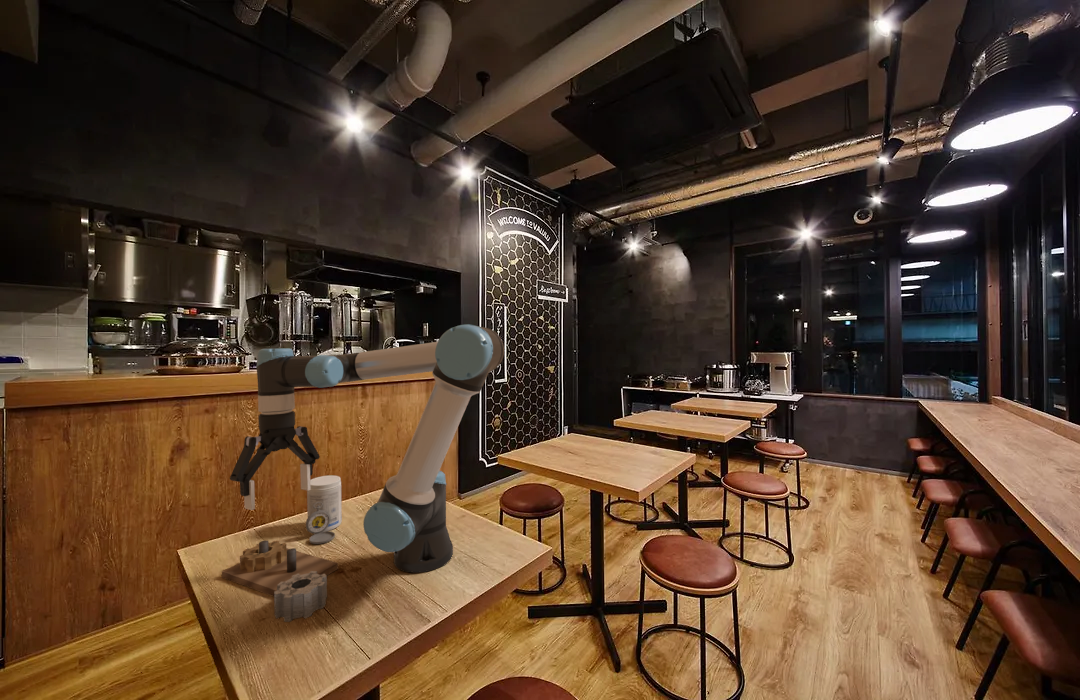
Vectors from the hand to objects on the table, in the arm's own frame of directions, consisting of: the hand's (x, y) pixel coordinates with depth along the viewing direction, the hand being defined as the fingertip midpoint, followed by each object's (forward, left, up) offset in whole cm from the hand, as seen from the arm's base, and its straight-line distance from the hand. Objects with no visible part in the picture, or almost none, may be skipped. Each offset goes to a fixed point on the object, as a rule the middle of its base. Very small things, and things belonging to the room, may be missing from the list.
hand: (279, 498), depth 101 cm
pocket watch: (+9, -18, -20) cm, 28 cm away
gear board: (+2, -1, -19) cm, 19 cm away
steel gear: (-15, +6, -19) cm, 25 cm away
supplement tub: (+15, -24, -20) cm, 35 cm away
